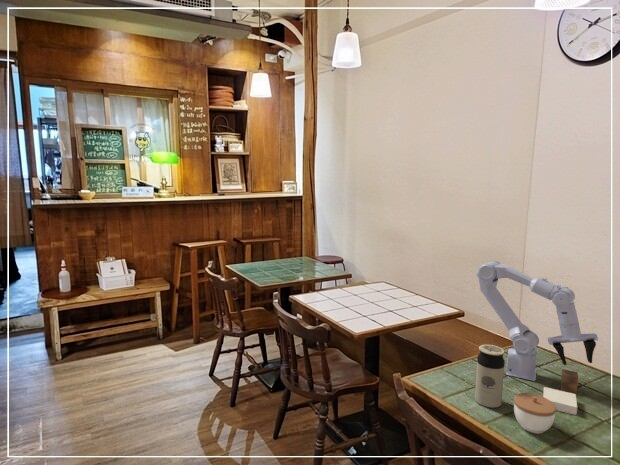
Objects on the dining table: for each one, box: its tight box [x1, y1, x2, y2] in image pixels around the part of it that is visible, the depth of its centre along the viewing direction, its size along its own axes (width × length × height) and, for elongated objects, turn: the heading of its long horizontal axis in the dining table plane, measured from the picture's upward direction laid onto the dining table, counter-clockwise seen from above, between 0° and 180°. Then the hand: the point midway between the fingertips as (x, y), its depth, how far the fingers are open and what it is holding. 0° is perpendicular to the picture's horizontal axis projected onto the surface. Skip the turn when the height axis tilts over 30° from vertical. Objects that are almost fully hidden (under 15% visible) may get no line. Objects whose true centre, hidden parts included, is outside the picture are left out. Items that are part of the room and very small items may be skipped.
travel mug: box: [474, 344, 506, 409], centre depth 130 cm, size 8×8×18 cm
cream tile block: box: [542, 386, 578, 416], centre depth 130 cm, size 9×9×3 cm
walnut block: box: [560, 369, 579, 395], centre depth 139 cm, size 4×4×6 cm
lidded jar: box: [513, 392, 557, 435], centre depth 118 cm, size 11×11×9 cm
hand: (577, 363), depth 138 cm, fingers open, 7 cm apart
